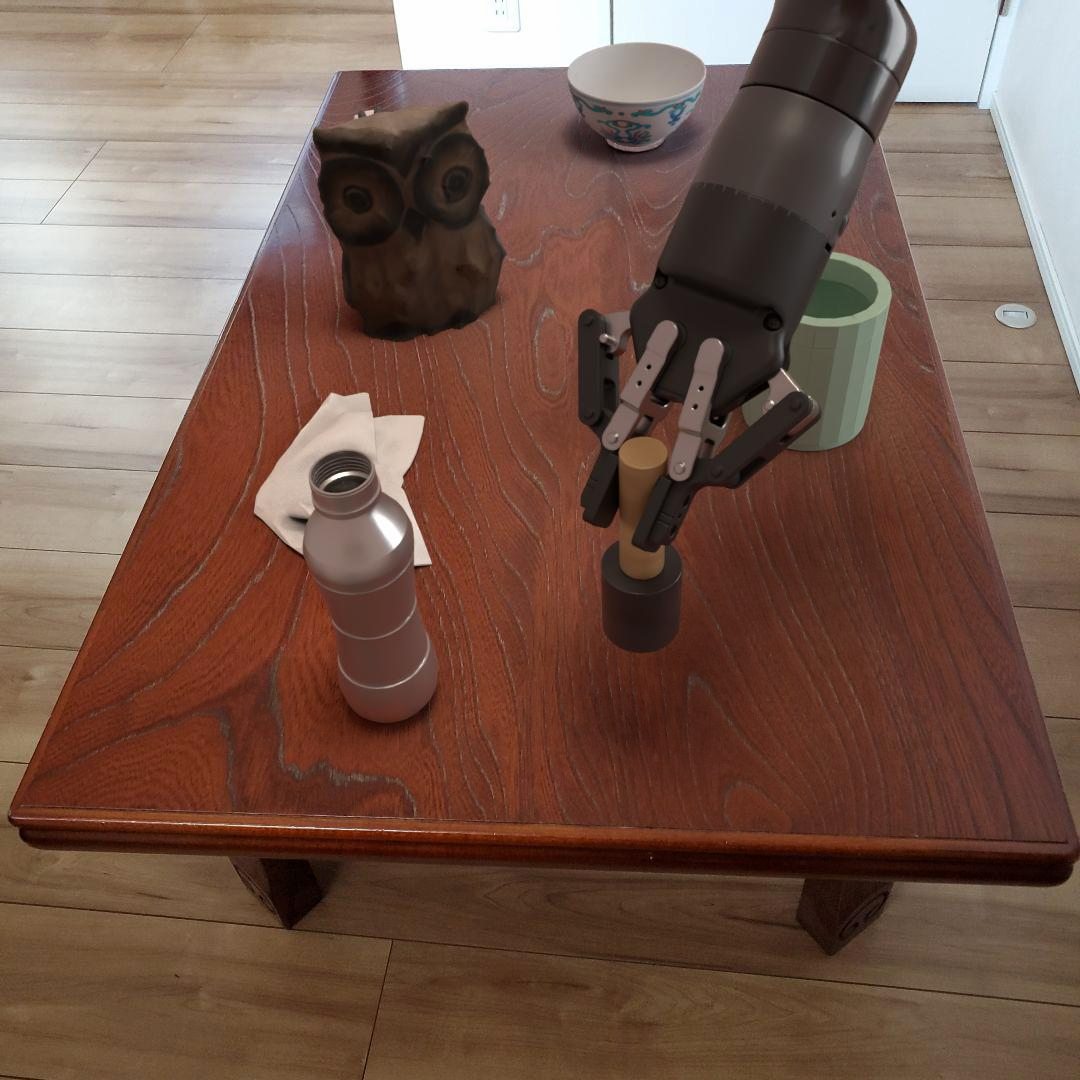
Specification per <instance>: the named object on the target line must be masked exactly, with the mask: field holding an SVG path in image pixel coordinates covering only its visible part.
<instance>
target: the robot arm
mask: <svg viewBox="0 0 1080 1080" xmlns="http://www.w3.org/2000/svg"><path fill="white" fill-rule="evenodd" d="M909 13H910V12H908V10H907V8H906V7H905V5H904V3H903V2H902V0H774V4H773V8H772V11H771V14H770V17H769V19H768V21H767V24H766V26H765V28H764V30H763V33H762V35H761V38H760V40H759V41H758V45H757V47H756V49H755V51H754V54H753V56H752V59H751V60H750V63H749V65H748V67H747V69H746V73H745V74H744V77H743V79H742V82H741V84H740V86H739V89H738V91H737V92H736V94H735V96H734V98H733V100H732V102H731V104H730V106H728V107H729V108H728V110H727V111H726V113H725V114H724V116H723V118H722V119H721V120H720V123H718V126H717V127H716V129H715V131H714V133H713V135H712V137H711V139H710V141H709V143H708V145H707V148H706V150H705V152H704V155H703V157H702V159H701V162H700V164H699V166H698V169H697V171H696V173H695V176H694V178H693V180H692V182H691V185H690V187H689V189H688V190H687V191H688V192H687V194H686V196H685V198H684V200H683V203H682V205H681V208H680V210H679V211H678V215H677V217H676V218H675V221H674V224H673V226H672V228H671V230H670V233H669V235H668V236H667V239H666V242H665V244H664V246H663V249H662V251H661V253H660V255H659V258H658V259H657V263H656V268H655V272H654V276H653V279H652V282H651V283H650V285H649V287H648V288H647V289H646V291H644V292H643V294H641V295H640V296H639V297H638V298H637V299H636V300H635V301H634V302H633V304H632V305H631V307H630V310H622V311H616V312H609V313H600V312H599V311H597V310H596V309H594V308H587V309H585V310H583V311H582V312H581V313H580V314H579V316H578V319H577V363H578V364H577V371H578V372H577V391H578V393H577V396H578V397H577V399H578V400H577V401H578V402H577V403H578V404H577V407H578V408H577V409H578V410H577V411H578V419H579V421H580V422H581V424H582V425H585V426H587V427H588V428H589V429H590V430H591V431H592V432H593V433H594V435H595V436H597V438H598V440H599V442H600V450H599V454H598V455H597V458H596V460H595V463H594V464H593V467H592V469H591V471H590V474H589V476H588V479H587V481H586V482H585V486H584V487H583V489H582V492H581V494H580V501H579V506H580V507H581V508H583V509H584V510H583V512H582V517H581V519H582V521H583V522H585V523H588V524H590V525H591V526H594V527H596V528H601V529H608V528H609V527H610V526H611V525H612V524H613V521H614V519H615V518H616V516H617V513H618V512H619V450H620V447H621V446H622V445H623V444H624V443H625V442H626V441H628V440H630V439H632V438H636V437H651V435H652V434H653V432H654V431H655V429H656V427H657V425H658V424H659V423H660V422H662V421H663V420H665V419H666V417H667V416H668V414H669V413H670V411H671V409H672V408H673V405H674V404H681V405H683V406H682V409H681V412H680V414H679V418H678V422H677V429H678V433H677V438H676V441H675V444H674V447H673V451H672V453H671V458H670V460H669V462H668V472H667V477H662V476H659V479H658V481H657V483H656V485H655V488H654V490H653V492H652V494H651V496H650V499H649V501H648V503H647V505H646V508H645V510H644V512H643V514H642V517H641V519H640V521H639V523H638V526H637V528H636V530H635V532H634V534H633V537H632V540H631V544H632V545H633V546H635V547H637V548H639V549H641V550H643V551H646V552H652V553H655V552H657V551H658V550H659V548H660V547H661V545H664V546H669V545H670V544H671V545H672V543H673V542H674V541H675V540H676V538H677V537H678V534H679V532H680V529H681V528H682V525H683V523H684V520H685V519H686V516H687V514H688V512H689V510H690V507H691V506H692V503H693V501H694V499H695V496H696V495H697V493H698V492H699V491H700V490H702V489H703V488H706V487H715V488H726V489H728V490H737V489H739V488H740V487H741V486H743V485H744V484H745V483H747V482H748V481H749V480H750V479H751V478H752V477H754V476H755V475H757V473H758V472H760V471H761V470H762V469H763V468H764V467H766V466H767V465H768V464H769V463H770V462H772V461H773V460H774V459H775V458H777V456H779V455H780V454H781V453H782V452H784V451H785V450H786V449H787V447H788V446H789V445H791V444H792V443H793V442H794V441H795V440H797V439H798V438H799V437H800V436H801V435H803V434H804V433H805V432H806V431H807V430H809V429H810V428H811V427H812V426H813V425H815V424H816V423H817V422H818V421H819V420H820V418H821V416H822V409H821V406H820V405H819V404H818V403H817V402H816V401H815V400H814V399H812V398H811V397H810V396H808V395H806V394H805V393H804V392H803V390H802V389H801V388H800V387H799V386H798V384H797V383H796V382H795V381H794V380H793V378H792V377H791V376H790V375H789V373H788V370H789V367H790V344H791V339H792V337H793V335H794V333H795V331H796V329H797V328H798V326H799V324H800V322H801V319H802V317H803V315H804V313H805V311H806V309H807V306H808V304H809V302H810V300H811V298H812V295H813V293H814V291H815V289H816V287H817V284H818V282H819V280H820V278H821V276H822V274H823V271H824V269H825V267H826V265H827V262H828V260H829V258H830V256H831V254H832V252H834V250H835V247H836V245H837V243H838V240H839V239H840V238H841V237H842V236H843V234H845V231H846V230H847V227H848V225H849V222H850V218H851V212H852V210H853V208H854V205H855V203H856V200H857V199H858V196H859V194H860V191H861V188H862V184H863V182H864V179H865V175H866V171H867V168H868V165H869V162H870V159H871V156H872V154H873V152H874V149H875V146H876V145H877V142H878V141H879V138H880V136H881V134H882V132H883V130H884V127H885V125H886V123H887V121H888V118H889V116H890V114H891V112H892V110H893V108H894V105H895V104H896V101H897V99H898V98H899V93H900V92H901V90H902V87H903V85H904V83H905V80H906V79H907V76H908V74H909V71H910V69H911V66H912V63H913V61H914V57H915V55H916V52H917V48H918V47H917V46H918V33H917V29H916V25H915V23H914V21H913V18H912V17H911V15H910V14H909ZM630 338H632V339H631V340H632V344H633V345H632V346H633V350H634V358H635V363H636V366H635V368H634V369H633V372H632V373H631V375H630V377H629V378H628V380H627V381H626V384H625V385H624V387H623V389H622V391H621V393H620V356H622V355H624V354H625V352H626V351H627V348H628V344H629V340H630ZM768 388H770V392H769V395H768V397H767V398H766V399H765V400H764V402H763V403H762V406H761V412H762V415H763V416H762V417H761V418H760V419H758V420H757V421H756V422H755V423H754V424H753V425H751V426H750V427H749V426H748V428H746V430H744V431H743V432H742V433H741V434H739V435H738V436H737V437H736V438H735V439H734V440H732V441H731V442H730V443H729V444H728V445H727V446H725V447H724V448H722V450H721V451H719V452H718V449H719V447H720V446H721V445H722V444H723V443H724V441H725V439H726V436H727V433H728V429H729V426H730V423H731V420H732V417H733V414H734V411H735V410H737V409H739V408H740V407H742V405H743V404H745V403H746V402H748V401H749V400H751V399H753V398H754V397H756V396H757V395H759V394H760V393H762V392H764V391H765V390H767V389H768ZM717 452H718V453H717Z"/></svg>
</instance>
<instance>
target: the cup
mask: <svg viewBox="0 0 1080 1080" xmlns="http://www.w3.org/2000/svg"><path fill="white" fill-rule="evenodd" d="M892 295H893V293H892V288H891V283H890V280H889V279H888V278H887V277H886V275H885V274H884V273H883V272H882V271H881V270H880V269H879V268H877V267H875V266H874V265H873V264H871V263H869V262H868V261H866V260H863V259H860V258H858V257H855V256H852V255H849V254H847V253H841V252H836V251H833V252H832V254H831V256H830V258H829V260H828V262H827V265H826V267H825V269H824V271H823V274H822V276H821V278H820V280H819V282H818V284H817V287H816V289H815V291H814V293H813V295H812V298H811V300H810V302H809V304H808V306H807V309H806V311H805V313H804V315H803V317H802V319H801V322H800V324H799V326H798V328H797V329H796V331H795V333H794V335H793V337H792V339H791V344H790V367H789V370H788V373H789V375H790V376H791V377H792V378H793V380H794V381H795V382H796V383H797V384H798V386H799V387H800V388H801V389H802V390H803V392H804V393H805V394H806V395H808V396H810V397H811V398H812V399H814V400H815V401H816V402H817V403H818V404H819V405H820V406H821V409H822V416H821V418H820V420H819V421H818V422H817V423H816V424H815V425H813V426H812V427H811V428H810V429H809V430H807V431H806V432H805V433H804V434H803V435H801V436H800V437H799V438H798V439H797V440H795V441H794V442H793V443H792V444H791V445H789V446H788V447H787V448H786V449H787V450H793V451H799V452H820V451H821V452H822V451H826V450H832V449H835V448H839V447H840V446H843V445H845V444H847V443H849V442H850V441H852V440H853V439H855V438H856V437H857V435H859V434H860V432H861V431H862V429H863V428H864V425H865V423H866V418H867V415H868V412H869V407H870V404H871V403H870V402H871V398H872V392H873V388H874V384H875V377H876V374H877V368H878V364H879V360H880V359H879V358H880V354H881V350H882V345H883V340H884V335H885V331H886V325H887V322H888V321H887V320H888V315H889V311H890V306H891V301H892V297H893V296H892ZM769 392H770V388H768V389H767V390H765V391H764V392H762V393H760V394H759V395H757V396H756V397H754V398H753V399H751V400H749V401H748V402H746V403H745V404H743V405H741V413H742V416H743V420H744V421H745V423H746V426H748V428H749V427H750V426H751V425H753V424H754V423H755V422H756V421H757V420H758V419H760V418H761V417H762V416H763V415H762V412H761V406H762V403H763V402H764V400H765V399H766V398H767V397H768V395H769Z"/></svg>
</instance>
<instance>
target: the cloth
mask: <svg viewBox="0 0 1080 1080" xmlns="http://www.w3.org/2000/svg"><path fill="white" fill-rule="evenodd" d="M373 414H374V413H373V411H372V404H371V399H370V395H369V392H358V393H354V394H350V395H345V396H344V395H341V394H338V393H335V392H330V393H329V395H327V397H326V398H325V400H324V401H323V403H322V404H321V406H320V407H319V408H318V409H317V411H316V412H315V414H314V415H313V416H312V417H311V419H310V420H309V421H308V422H307V423H306V424H305V426H303V428H302V429H301V430H300V431H299V432H298V434H297V435H296V437H295V438H294V440H293V441H292V443H290V445H289V447H288V448H287V449H286V450H285V452H284V453H283V454H282V456H280V458H279V459H278V460H277V462H276V464H275V465H274V467H273V469H272V470H271V472H270V474H269V475H268V476H267V478H266V479H265V481H264V482H263V483H262V485H261V486H260V487H259V489H258V492H257V494H256V495H255V500H254V501H255V502H254V510H253V514H255V516H257V517H258V518H259V519H261V520H262V521H263V522H264V523H265V524H266V525H267V526H268V527H269V528H270V529H271V531H273V532H274V533H275V534H276V535H277V537H279V538H280V540H282V541H283V543H285V544H286V545H288V546H289V547H291V548H292V549H294V550H295V551H296V552H298V553H299V554H301V555H303V548H302V547H303V538H304V530H305V527H306V524H307V522H308V520H309V518H310V516H311V514H312V512H313V511H314V509H315V507H314V505H313V502H312V497H311V492H312V491H311V488H310V484H309V471H310V469H311V467H312V465H313V464H314V463H315V462H316V461H317V460H318V459H319V458H321V457H322V456H323V455H325V454H327V453H330V452H333V451H336V450H341V449H355V450H359V451H362V452H364V453H366V454H367V455H368V456H369V457H370V458H371V459H372V461H373V463H374V465H375V469H376V474H377V476H378V478H379V479H380V484H381V488H382V492H384V493H385V494H387V495H388V496H390V497H391V498H393V499H394V500H396V501H397V502H398V503H399V504H400V505H401V506H402V507H403V509H404V510H405V512H406V514H407V515H408V517H409V519H410V521H411V522H412V526H413V531H414V567H419V566H432V565H433V562H432V560H431V557H430V554H429V552H428V549H427V546H426V543H425V540H424V538H423V535H422V532H421V530H420V527H419V525H418V523H417V521H416V520H417V519H416V517H415V516H414V513H413V510H412V508H411V506H410V502H409V500H408V496H407V493H406V491H405V490H404V489H403V484H404V476H405V474H406V473H407V472H408V470H409V469H410V468H411V466H412V464H413V462H414V459H415V457H416V455H417V453H418V450H419V446H420V443H421V439H422V438H423V432H424V426H425V421H426V420H425V419H426V417H425V416H423V415H421V414H416V415H415V414H412V415H411V414H410V415H409V414H408V415H407V414H404V415H403V414H401V415H400V414H399V415H397V414H394V415H393V414H391V415H389V414H388V415H382V416H376V417H374V415H373Z"/></svg>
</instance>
